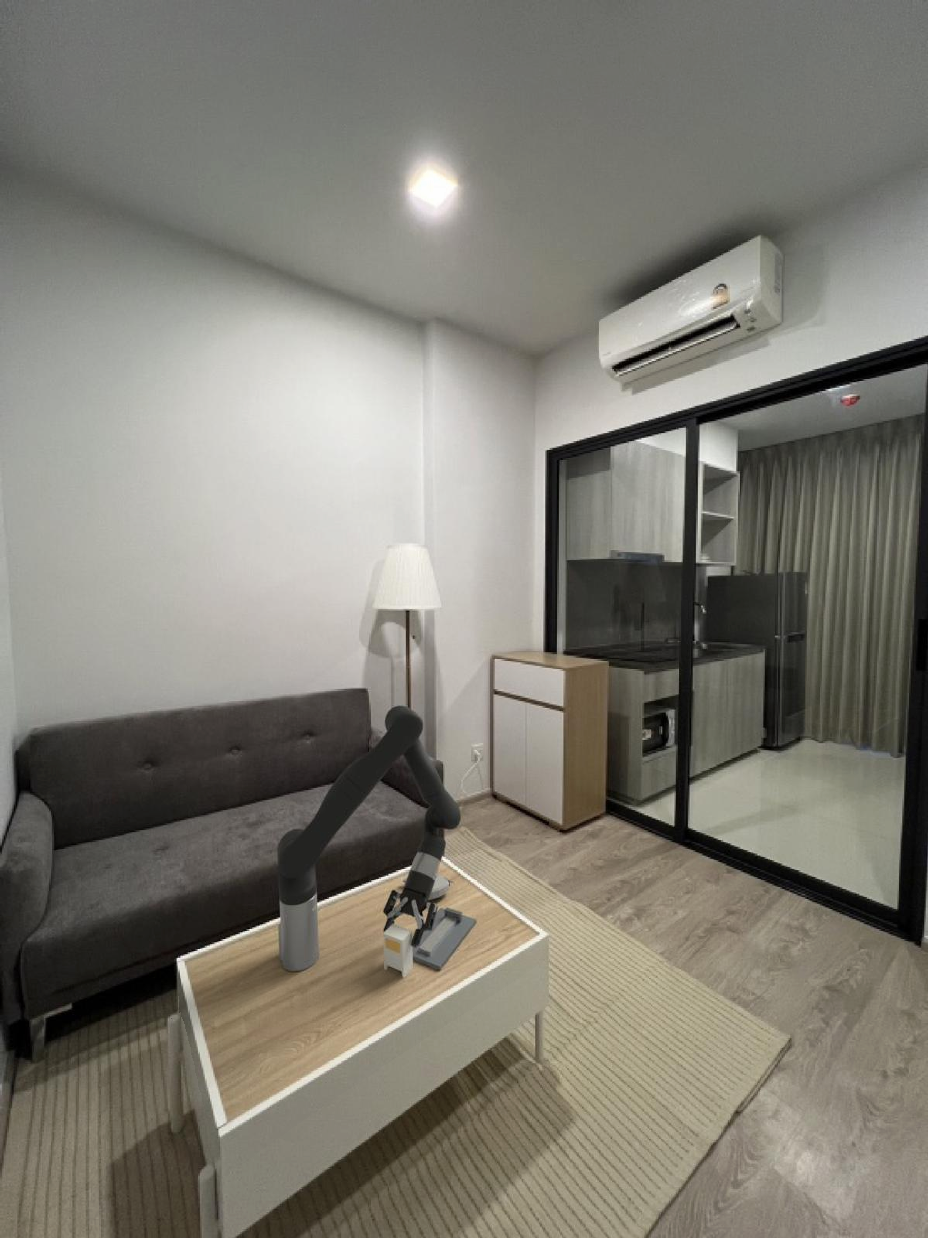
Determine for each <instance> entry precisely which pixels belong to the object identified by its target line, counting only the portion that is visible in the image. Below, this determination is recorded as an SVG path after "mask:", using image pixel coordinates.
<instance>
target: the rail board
mask: <svg viewBox="0 0 928 1238" xmlns="http://www.w3.org/2000/svg"><path fill="white" fill-rule="evenodd" d="M444 910H445V908H442V907H439V908H438V909H437V912H436V916H435V920H434V924H433V927H432V930H431V931H429V930H427V931H424V932H423V935H422V938H421V941H420V944H419V945H417V947H416V948H415V947H413V946H412V953H413V961H416V962H418V963H421V964H423V965H425V966H428V967H431V968H433V969H435V970H437V971H441V970H442V969H444V966H446V964H447V963H448V961H449V960H450V959H451V957H452V956H453V954H454V953H455V952H456V951H457V950H458V948H459V947H460V945H461V944H462V943H463V942H464V940H465V939H466V937H467V936H468V935H469V933H470V932H471V931H472V929H473V928H474V927H475V925H476V924H477V919H476V918H473V917H471V916H467V915H464V914H462V922H461V923H459V922H457V924H456V925H455V926H454V927H453V929H452V930H451V931H450V932H449V934H448V935H447V936H446V937H445V938H444V940H443V941H442V942H441V943H440V945H439V946H438V947H437V948H436V950H435V951H434V952H433V953H432V954H431V956H429V955H427V954H424V953H422V952H419V947H420V946H421V945H422V944H423V943H424V941H425V940H426V939H427V938H428V937H429V936H430V934H431V933H432V932H433V931H434V930H435V929H436V927H437V926H438V925H439V924H440V923H441V922H442V921H443V919H444V918H445V912H444Z"/></svg>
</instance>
